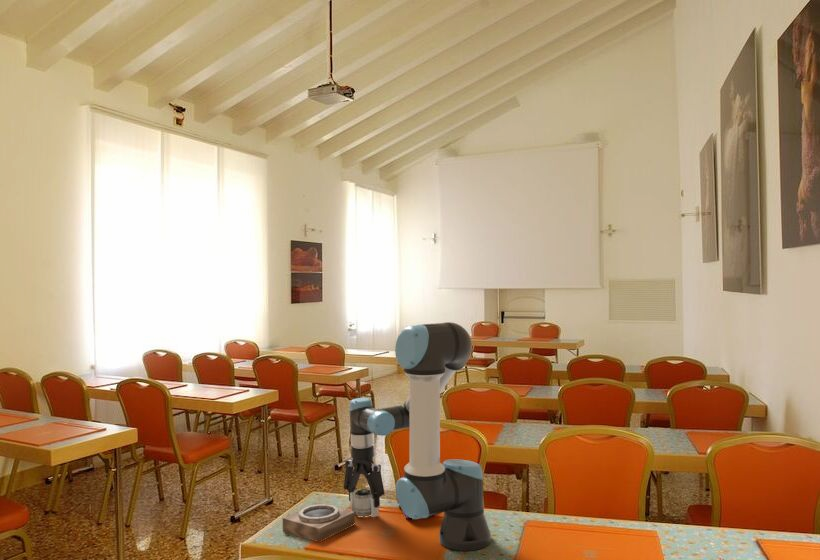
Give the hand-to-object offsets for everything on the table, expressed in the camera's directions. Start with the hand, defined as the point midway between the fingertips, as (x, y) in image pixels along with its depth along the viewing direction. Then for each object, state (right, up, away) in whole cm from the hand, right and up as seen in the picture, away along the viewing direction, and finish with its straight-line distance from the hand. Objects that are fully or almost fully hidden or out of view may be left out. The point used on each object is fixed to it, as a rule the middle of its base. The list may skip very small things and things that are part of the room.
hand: (364, 513), depth 209 cm
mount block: (-14, -1, -10) cm, 17 cm away
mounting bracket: (+17, 0, +3) cm, 17 cm away
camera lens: (0, -1, 0) cm, 1 cm away
